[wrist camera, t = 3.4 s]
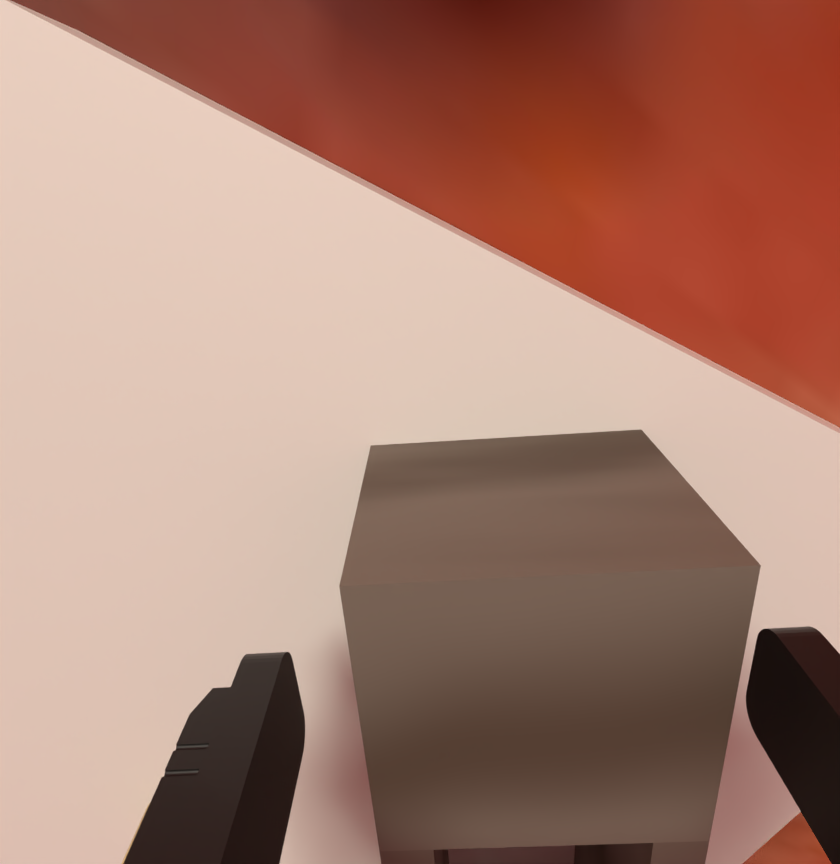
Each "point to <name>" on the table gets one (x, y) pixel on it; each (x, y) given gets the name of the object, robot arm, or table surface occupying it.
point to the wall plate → (288, 442)
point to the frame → (543, 647)
